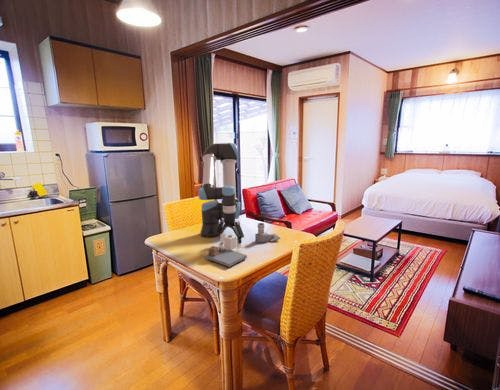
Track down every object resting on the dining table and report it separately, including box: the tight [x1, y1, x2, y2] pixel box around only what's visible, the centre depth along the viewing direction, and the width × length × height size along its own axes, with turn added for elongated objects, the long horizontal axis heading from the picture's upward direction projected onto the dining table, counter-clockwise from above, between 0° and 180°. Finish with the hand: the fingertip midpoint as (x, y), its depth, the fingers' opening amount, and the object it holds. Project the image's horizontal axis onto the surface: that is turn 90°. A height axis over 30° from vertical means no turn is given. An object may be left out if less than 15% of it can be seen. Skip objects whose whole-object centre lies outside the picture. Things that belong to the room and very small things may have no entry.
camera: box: [255, 222, 281, 244], centre depth 177 cm, size 9×12×15 cm
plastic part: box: [224, 234, 237, 251], centre depth 167 cm, size 5×5×8 cm
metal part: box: [218, 242, 225, 252], centre depth 156 cm, size 4×4×4 cm
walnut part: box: [207, 245, 219, 257], centre depth 151 cm, size 4×4×4 cm
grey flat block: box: [204, 248, 248, 269], centre depth 151 cm, size 18×14×2 cm
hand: (230, 246), depth 167 cm, fingers open, 13 cm apart
